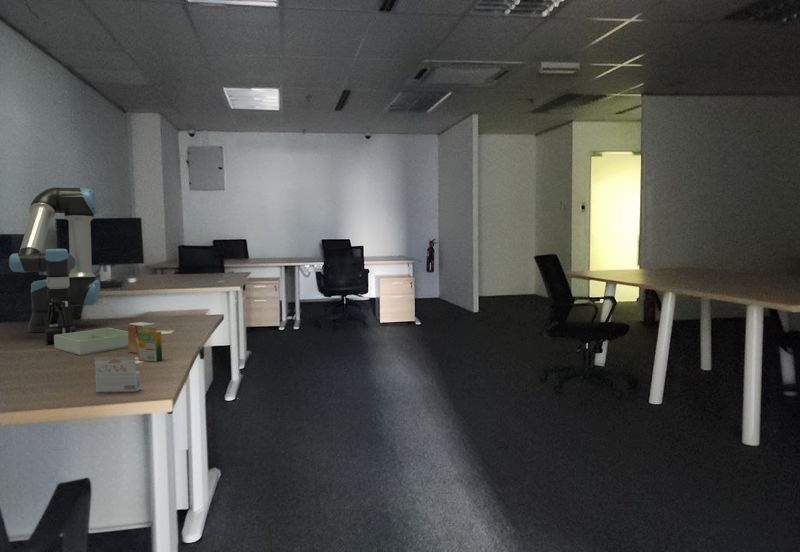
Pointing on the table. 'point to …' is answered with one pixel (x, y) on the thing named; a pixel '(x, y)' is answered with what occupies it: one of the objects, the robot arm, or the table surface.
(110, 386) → the ink cartridge box
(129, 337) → the small box
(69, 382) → the table surface
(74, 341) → the organizer tray
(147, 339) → the crayon box
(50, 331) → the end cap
